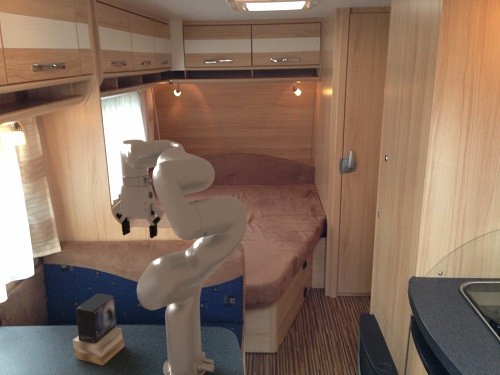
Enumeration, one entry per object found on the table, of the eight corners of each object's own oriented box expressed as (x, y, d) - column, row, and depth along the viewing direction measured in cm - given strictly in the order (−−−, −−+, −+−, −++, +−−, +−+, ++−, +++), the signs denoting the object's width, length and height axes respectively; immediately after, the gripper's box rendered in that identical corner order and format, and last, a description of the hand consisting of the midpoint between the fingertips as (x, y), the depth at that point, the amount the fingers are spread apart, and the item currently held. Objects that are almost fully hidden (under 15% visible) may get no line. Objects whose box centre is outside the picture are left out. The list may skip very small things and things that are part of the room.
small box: (96, 344, 127) (93, 311, 124) (78, 341, 128) (73, 308, 126) (117, 325, 136) (114, 294, 134) (100, 322, 138) (96, 292, 136)
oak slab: (124, 348, 136) (123, 338, 136) (102, 367, 127) (101, 356, 127) (98, 342, 140) (97, 332, 139) (75, 360, 131) (74, 349, 130)
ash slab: (122, 338, 136) (121, 328, 135) (101, 356, 126) (100, 346, 126) (96, 333, 139) (94, 323, 138) (73, 350, 130) (72, 340, 129)
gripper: (167, 180, 132) (170, 234, 135) (118, 177, 137) (123, 229, 141) (154, 185, 125) (158, 242, 129) (103, 182, 130) (108, 236, 134)
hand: (139, 235), depth 135 cm, fingers open, 9 cm apart
